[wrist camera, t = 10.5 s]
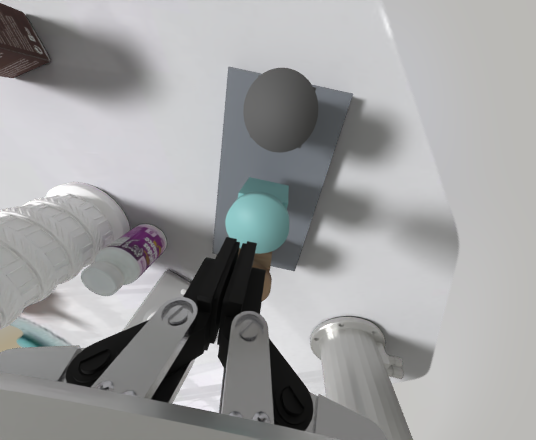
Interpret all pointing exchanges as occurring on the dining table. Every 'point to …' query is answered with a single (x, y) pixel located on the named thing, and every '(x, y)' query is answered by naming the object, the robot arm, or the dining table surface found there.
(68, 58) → the dining table surface
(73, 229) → the decorative container
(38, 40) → the box
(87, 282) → the pill bottle
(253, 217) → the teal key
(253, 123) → the dark grey round-topped block
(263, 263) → the walnut key
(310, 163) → the panel
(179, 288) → the light switch
